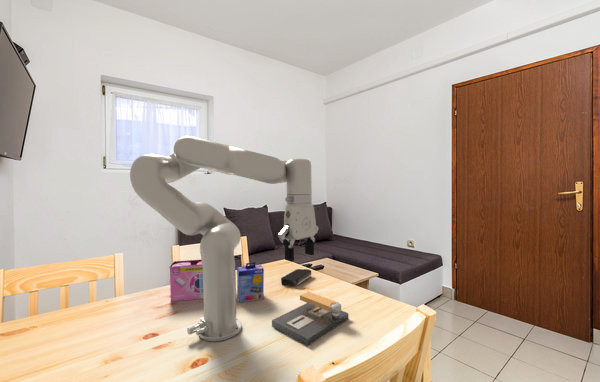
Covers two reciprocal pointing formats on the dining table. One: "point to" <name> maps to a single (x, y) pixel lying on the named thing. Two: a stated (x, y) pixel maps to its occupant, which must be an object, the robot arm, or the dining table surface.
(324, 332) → the grey flat block
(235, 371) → the dining table surface
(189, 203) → the robot arm
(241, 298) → the ink cartridge box
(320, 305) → the swing arm
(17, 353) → the dining table surface
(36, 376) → the dining table surface
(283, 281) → the black sponge
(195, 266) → the gum box
